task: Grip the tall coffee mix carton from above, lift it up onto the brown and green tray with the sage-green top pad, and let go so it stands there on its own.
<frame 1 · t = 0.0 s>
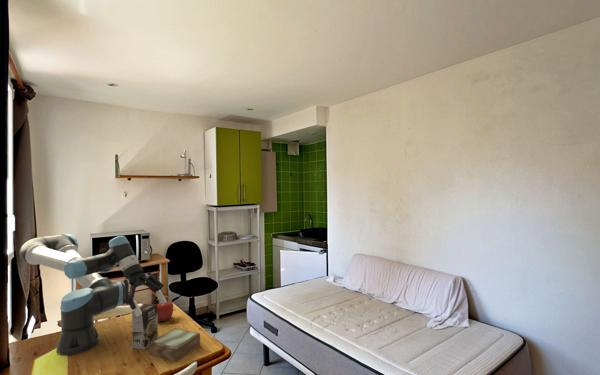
hand: (152, 309, 140), 15 cm above the table, tool tilted 35°, fingers open, 13 cm apart
coffee box: (145, 344, 140), on the table
vegetable: (162, 320, 164), on the table
brown and green tray: (175, 349, 135), on the table
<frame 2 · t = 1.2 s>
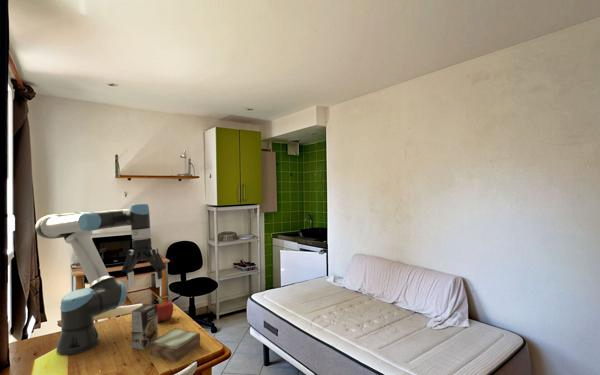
hand: (145, 286, 139), 25 cm above the table, tool pointing down, fingers open, 13 cm apart
nothing on the table moved.
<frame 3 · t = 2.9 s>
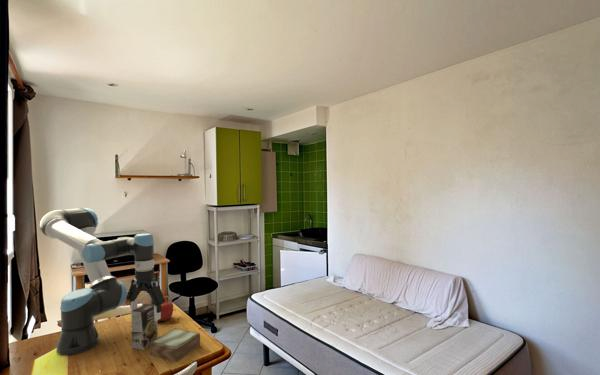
hand: (145, 317, 139), 12 cm above the table, tool pointing down, fingers open, 13 cm apart
nothing on the table moved.
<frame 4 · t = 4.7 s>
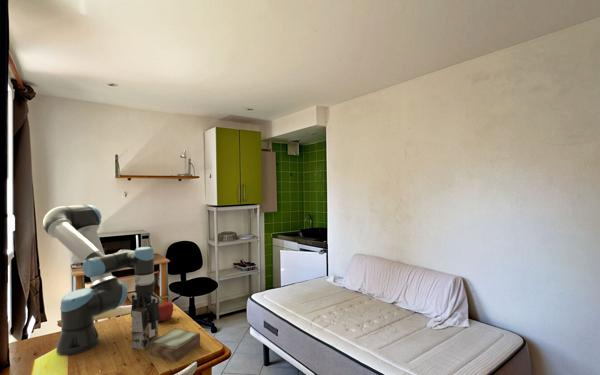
hand: (145, 334, 140), 4 cm above the table, tool pointing down, fingers closed on coffee box, 7 cm apart
coffee box: (145, 344, 140), on the table, touching gripper
everything else where it was.
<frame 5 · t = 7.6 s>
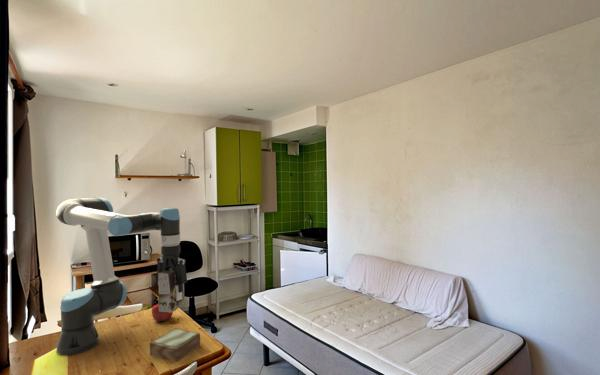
hand: (172, 298, 135), 22 cm above the table, tool pointing down, fingers closed on coffee box, 7 cm apart
coffee box: (172, 308, 135), point 17 cm above the table, touching gripper
everything else where it was.
when the fingers open (11 cm above the table, at t = 10.4 s): coffee box drops 2 cm, resting on brown and green tray.
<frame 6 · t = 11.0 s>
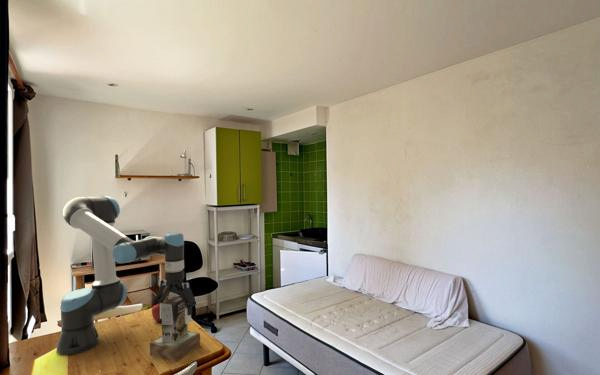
hand: (175, 319, 134), 13 cm above the table, tool pointing down, fingers open, 13 cm apart
coffee box: (175, 338, 135), point 5 cm above the table, touching brown and green tray
everything else where it was.
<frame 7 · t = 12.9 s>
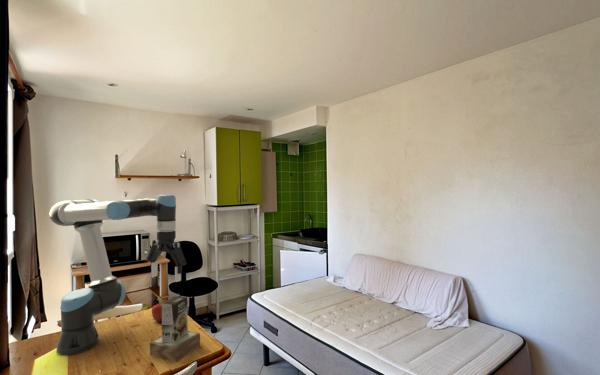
hand: (166, 278, 139), 29 cm above the table, tool pointing down, fingers open, 13 cm apart
nothing on the table moved.
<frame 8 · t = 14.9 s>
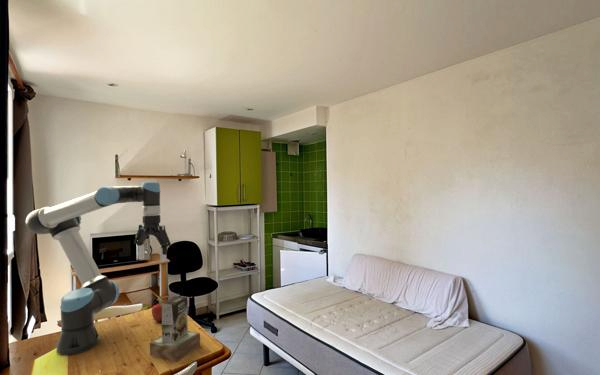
hand: (152, 260, 148), 35 cm above the table, tool pointing down, fingers open, 13 cm apart
nothing on the table moved.
at the end: coffee box inside the target area on the brown and green tray (0.1 cm from its centre), point 5.0 cm above the brown and green tray's base; coffee box tilted 0°; the gripper is holding nothing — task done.
